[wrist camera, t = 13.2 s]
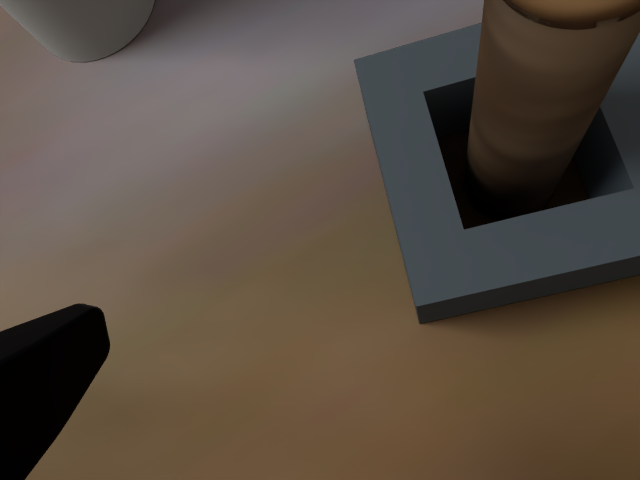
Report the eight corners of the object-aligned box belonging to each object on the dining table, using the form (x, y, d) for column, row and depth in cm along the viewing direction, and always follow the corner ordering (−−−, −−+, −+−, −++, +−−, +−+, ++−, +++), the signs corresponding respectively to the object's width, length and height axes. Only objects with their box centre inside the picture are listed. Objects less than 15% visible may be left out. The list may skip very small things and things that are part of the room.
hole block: (680, 265, 21) (734, 234, 17) (419, 324, 22) (416, 306, 18) (588, 49, 24) (616, -17, 20) (366, 111, 25) (353, 59, 22)
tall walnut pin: (573, 186, 22) (735, -78, 10) (502, 239, 22) (581, 36, 10) (513, 126, 24) (593, -173, 11) (446, 176, 24) (455, -71, 11)
